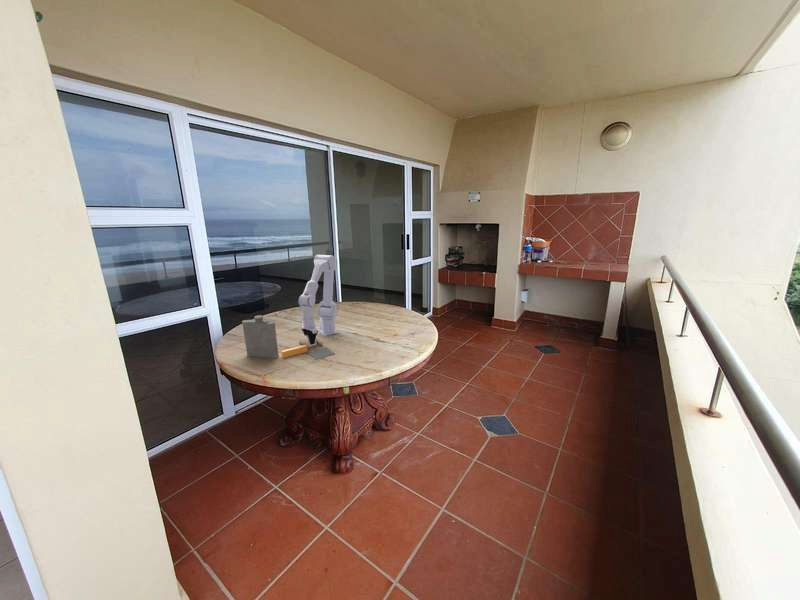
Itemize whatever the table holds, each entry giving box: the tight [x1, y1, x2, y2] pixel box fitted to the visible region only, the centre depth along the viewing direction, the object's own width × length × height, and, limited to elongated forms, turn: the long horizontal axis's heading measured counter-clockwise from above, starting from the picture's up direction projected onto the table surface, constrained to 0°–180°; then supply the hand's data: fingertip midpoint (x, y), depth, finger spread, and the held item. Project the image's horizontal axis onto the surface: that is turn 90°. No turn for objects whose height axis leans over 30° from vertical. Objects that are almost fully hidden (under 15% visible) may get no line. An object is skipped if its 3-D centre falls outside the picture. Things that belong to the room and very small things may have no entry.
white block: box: [303, 334, 318, 348], centre depth 165 cm, size 4×4×5 cm
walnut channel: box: [298, 337, 323, 350], centre depth 166 cm, size 10×8×2 cm
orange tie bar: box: [281, 345, 309, 359], centre depth 155 cm, size 2×12×3 cm, turn 127°
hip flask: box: [241, 314, 279, 359], centre depth 151 cm, size 16×4×20 cm, turn 80°
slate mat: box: [307, 346, 336, 361], centre depth 156 cm, size 10×10×1 cm
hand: (310, 342), depth 166 cm, fingers closed on white block, 4 cm apart
